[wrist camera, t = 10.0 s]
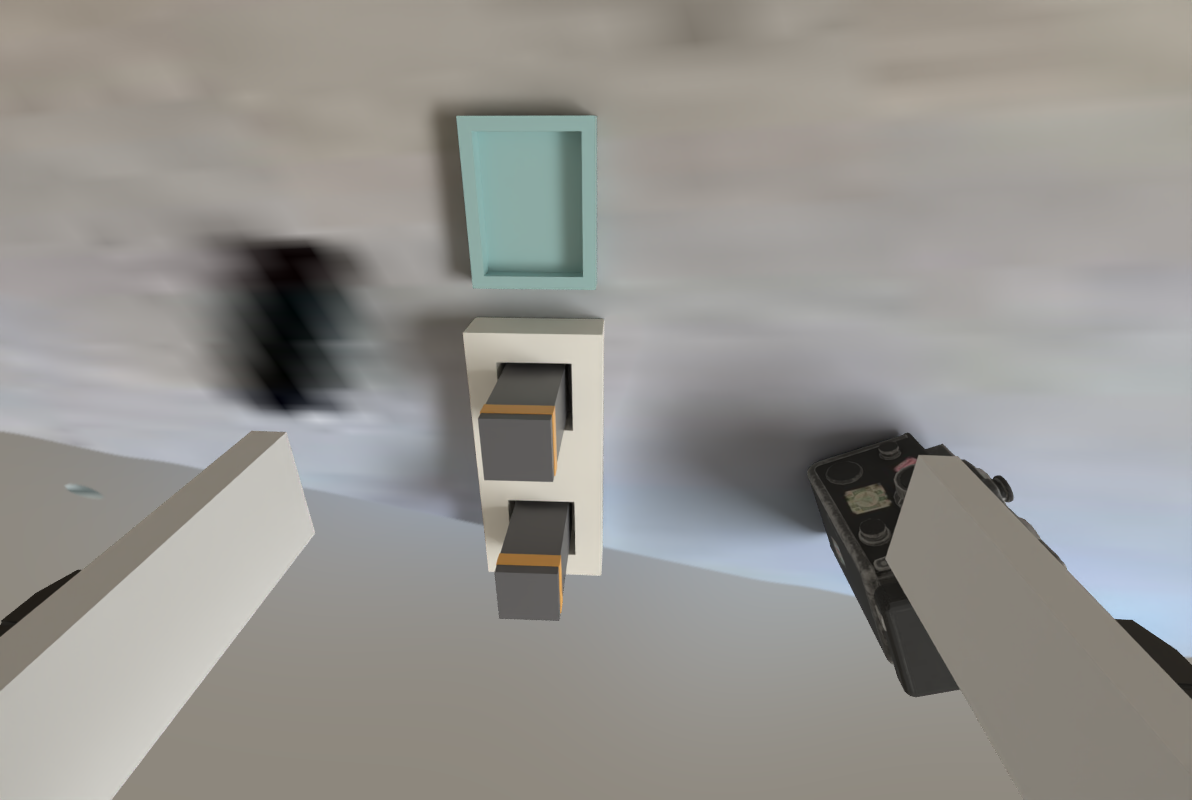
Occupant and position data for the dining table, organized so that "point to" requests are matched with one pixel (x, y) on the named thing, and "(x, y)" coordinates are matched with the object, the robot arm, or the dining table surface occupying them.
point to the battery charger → (575, 497)
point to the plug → (524, 422)
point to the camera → (886, 548)
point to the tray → (530, 200)
